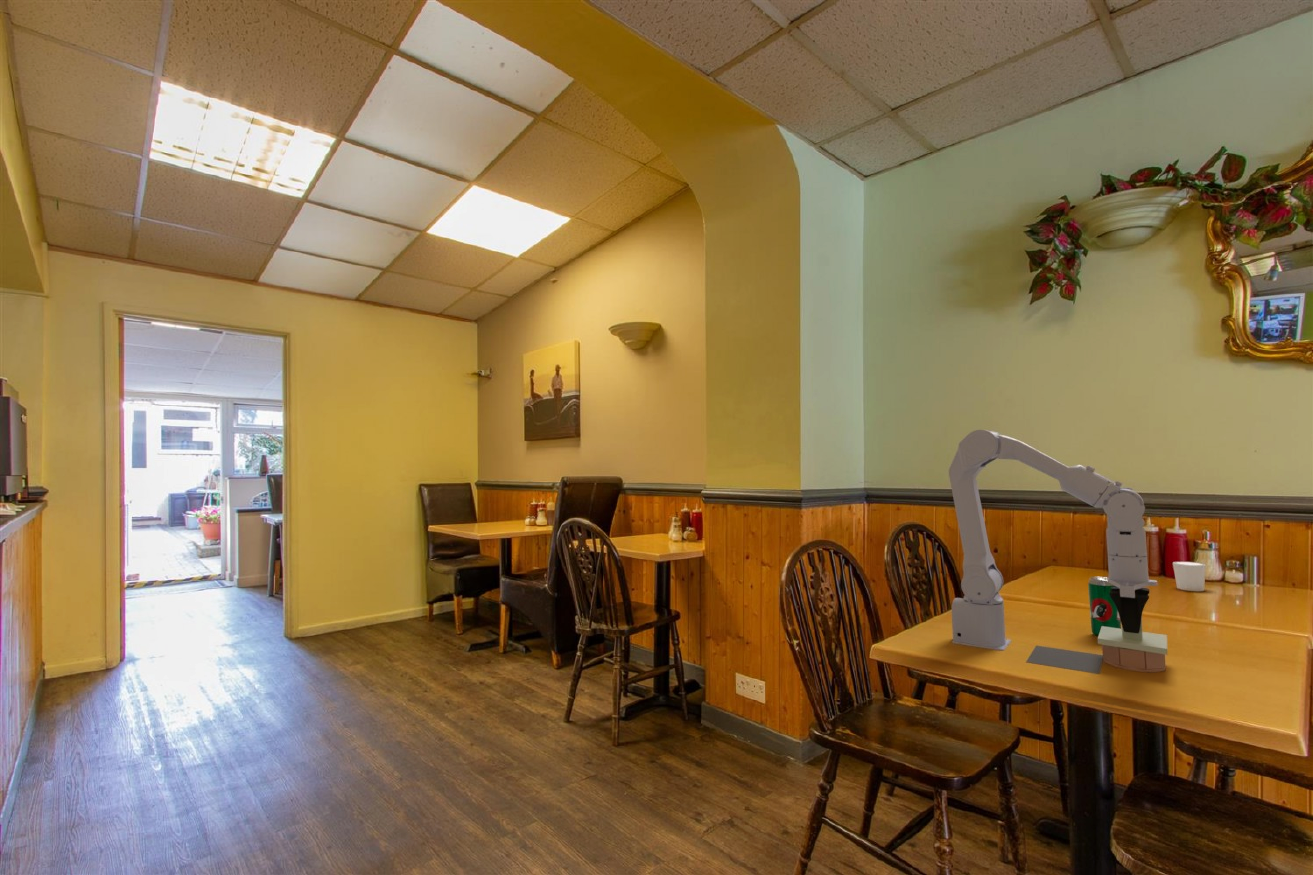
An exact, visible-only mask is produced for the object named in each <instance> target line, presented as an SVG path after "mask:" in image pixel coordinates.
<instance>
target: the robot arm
mask: <svg viewBox="0 0 1313 875" xmlns="http://www.w3.org/2000/svg"><path fill="white" fill-rule="evenodd" d="M997 459H998V460H1010V461H1011V460H1012V461H1013V460H1014V461H1019V462H1021V463H1022V464H1025V465H1027V466H1028V467H1031V468H1032V469H1034V470H1037V471H1039V472H1041V473H1043V474H1045V475H1047V476H1048V477H1051V478H1053V479H1054V480H1057V481H1058V482H1059V484H1060V485H1059V486H1060V489H1061V490H1062V491H1063V492H1066V493H1067V494H1069V495H1070V496H1073V497H1074V498H1075V499H1076V498H1077V499H1078V500H1080V501H1081V502H1084V503H1086V504H1088V506H1092V507H1093V508H1095V509H1098V508H1099V509H1100V508H1101V509H1103V511H1104V513H1105V515H1106V516H1107V517H1106V520H1107V527H1106V530H1105V532H1106V548H1107V565H1108V582H1109V583H1111V584H1113V585H1114V586H1116V587H1111V590H1112V591H1111V590H1110V591H1109V595H1110V597H1111V599H1112V600H1113V602H1114V603H1115V605H1116V608H1117V610H1118V613H1119V617H1120V620H1121V628H1122V627H1123V630H1124V632H1130V633H1139V630H1140V625H1141V618H1142V619H1143V612H1144V610H1145V609H1144V608H1145V606H1146V604H1147V602H1148V601H1149V599H1150V595H1149V594H1150V589H1149V588H1147V587H1150V586H1153V587H1155V586H1156V587H1157V586H1158V581H1157V580H1155V579H1149V567H1148V565H1149V564H1148V549H1147V548H1148V546H1147V534H1146V530H1145V529H1144V528H1145V520H1144V518H1143V515H1144V513H1145V511H1146V506H1145V502H1144V499H1143V498H1142V496H1141V495H1140V494H1139V493H1138V492H1137V491H1135V490H1134V489H1133V488H1131V487H1127V486H1124V487H1123V486H1122V485H1123V482H1121V481H1119V480H1116V481H1114V480H1111V479H1109V478H1107V477H1105V476H1103V475H1102V474H1099V473H1098V472H1095V470H1096V468H1095V467H1093V466H1091V465H1087V466H1086V467H1085V466H1083V465H1082V464H1076V465H1071V466H1067V465H1066V464H1064V463H1062V462H1060V461H1058V460H1057V459H1055V458H1053V457H1051V456H1049V455H1047V454H1046V453H1044V452H1043V451H1042V452H1041V451H1040V450H1038V449H1037V448H1034V447H1033V446H1030V445H1029V444H1027V443H1025V442H1023V441H1021V440H1019V439H1016V438H1013V437H1011V436H1008V435H1003V434H1001V433H999V432H997V431H995V430H990V429H989V430H987V429H975V430H973V431H970V432H969V433H967V435H966V436H965V437H964V438H963V439H962V440H961V441H960V442H958V447H957V450H956V453H955V455H954V456H953V459H952V462H951V464H950V466H949V468H948V476H949V477H948V478H949V482H950V486H951V487H950V488H951V492H952V497H953V498H952V499H953V504H954V507H955V509H954V510H955V514H956V518H957V519H956V520H957V525H958V529H959V536H960V540H961V546H962V552H963V559H962V560H963V561H962V570H963V575H962V579H961V583H960V587H961V588H960V589H961V590H962V592H963V593H962V594H964V595H963V598H962V597H954V599H953V601H952V604H951V623H952V626H951V628H952V644H956V645H957V644H958V645H963V646H970V647H976V648H982V649H989V650H994V651H1005V650H1006V648H1007V647H1009V645H1010V643H1011V642H1012V640H1011V639H1010V638H1006V626H1005V625H1006V624H1005V623H1006V622H1005V607H1004V598H1003V597H1002V596H1001V594H1000V591H1001V590H1002V589H1003V586H1004V577H1003V575H1002V573H1001V571H1000V570H999V569H998V568H997V565H996V561H995V558H994V556H993V554H992V552H991V550H990V543H989V540H988V538H989V537H988V534H987V529H986V528H987V527H986V522H985V518H984V513H983V507H982V502H981V498H980V493H979V492H980V491H979V486H978V480H977V476H978V475H979V474H980V473H981V472H982V471H983V470H984V469H985V467H986V466H987V465H989V464H990V463H992V462H993V461H995V460H997Z"/></svg>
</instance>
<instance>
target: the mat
mask: <svg viewBox="0 0 1313 875" xmlns="http://www.w3.org/2000/svg"><path fill="white" fill-rule="evenodd" d="M1103 661H1104V659H1103V654H1098V653H1097V654H1096V653H1092V652H1082V651H1079V650H1078V651H1077V650H1070V649H1063V648H1058V647H1057V648H1056V647H1050V646H1041V645H1035V646H1034V648H1033V650H1032V652H1031V653H1030V655H1029V656H1028V658H1027V660H1026V661H1025V663H1029V664H1035V665H1040V666H1041V665H1042V666H1048V667H1053V668H1059V669H1064V670H1065V669H1066V670H1072V671H1077V672H1084V673H1091V674H1094V675H1095V674H1097V675H1100V673H1101V669H1102V665H1103Z"/></svg>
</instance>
